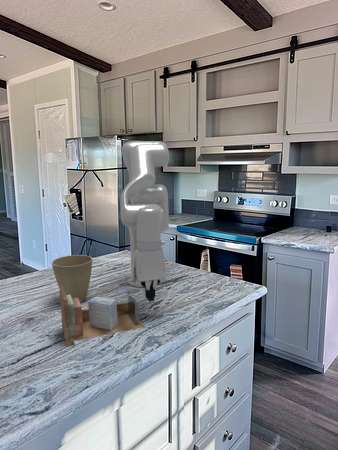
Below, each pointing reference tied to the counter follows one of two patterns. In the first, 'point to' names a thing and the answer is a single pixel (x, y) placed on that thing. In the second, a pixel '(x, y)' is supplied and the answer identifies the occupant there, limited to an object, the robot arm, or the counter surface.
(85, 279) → the plant pot
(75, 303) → the rack
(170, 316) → the counter surface
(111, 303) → the medicine box
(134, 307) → the bookend
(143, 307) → the counter surface
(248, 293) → the counter surface
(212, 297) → the counter surface
